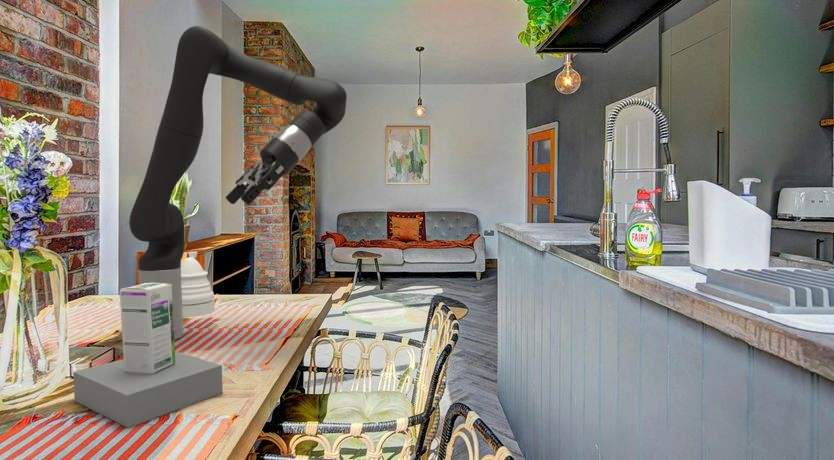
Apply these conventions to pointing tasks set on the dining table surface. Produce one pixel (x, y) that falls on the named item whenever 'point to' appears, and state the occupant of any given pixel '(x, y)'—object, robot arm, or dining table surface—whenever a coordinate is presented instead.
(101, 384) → the block
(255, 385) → the dining table surface
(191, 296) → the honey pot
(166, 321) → the syrup box
